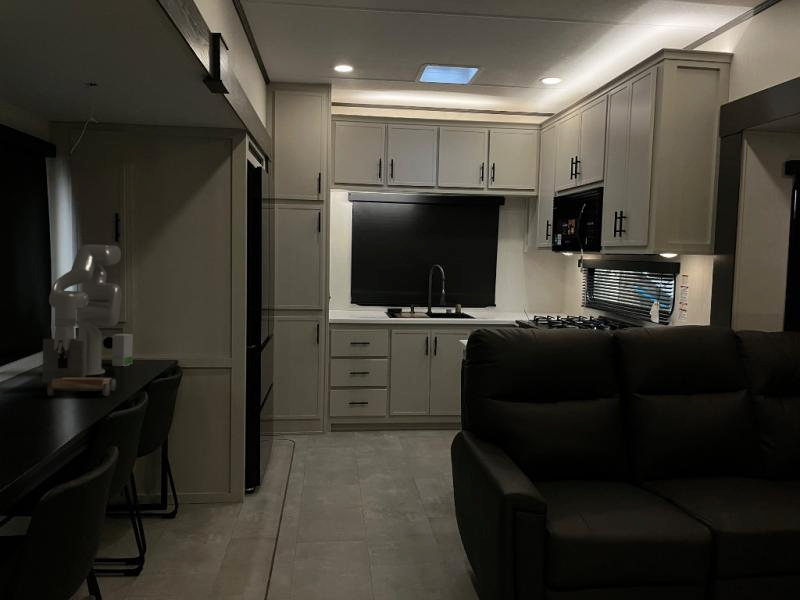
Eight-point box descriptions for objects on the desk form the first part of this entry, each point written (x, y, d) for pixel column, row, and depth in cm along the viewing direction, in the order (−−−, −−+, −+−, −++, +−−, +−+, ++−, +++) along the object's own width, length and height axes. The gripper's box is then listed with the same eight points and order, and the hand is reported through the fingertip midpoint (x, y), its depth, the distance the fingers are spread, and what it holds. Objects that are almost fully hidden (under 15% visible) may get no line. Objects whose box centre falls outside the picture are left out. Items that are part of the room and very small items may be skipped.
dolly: (60, 389, 243) (60, 372, 242) (115, 389, 247) (116, 372, 246) (47, 397, 229) (47, 379, 228) (106, 397, 233) (106, 379, 233)
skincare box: (123, 367, 294) (124, 335, 293) (110, 366, 295) (111, 334, 294) (132, 364, 302) (133, 333, 301) (120, 363, 303) (121, 332, 302)
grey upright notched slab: (41, 382, 241) (42, 333, 240) (45, 380, 245) (45, 332, 244) (84, 382, 245) (85, 334, 243) (87, 380, 249) (88, 333, 247)
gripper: (62, 320, 251) (61, 363, 252) (47, 324, 234) (46, 370, 236) (81, 320, 252) (81, 363, 253) (68, 325, 236) (67, 370, 237)
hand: (64, 366), depth 244 cm, fingers closed on grey upright notched slab, 3 cm apart
